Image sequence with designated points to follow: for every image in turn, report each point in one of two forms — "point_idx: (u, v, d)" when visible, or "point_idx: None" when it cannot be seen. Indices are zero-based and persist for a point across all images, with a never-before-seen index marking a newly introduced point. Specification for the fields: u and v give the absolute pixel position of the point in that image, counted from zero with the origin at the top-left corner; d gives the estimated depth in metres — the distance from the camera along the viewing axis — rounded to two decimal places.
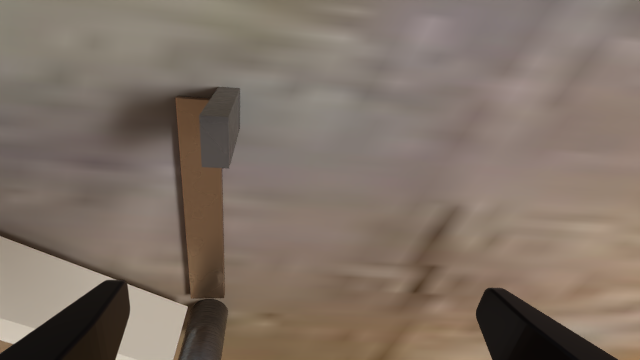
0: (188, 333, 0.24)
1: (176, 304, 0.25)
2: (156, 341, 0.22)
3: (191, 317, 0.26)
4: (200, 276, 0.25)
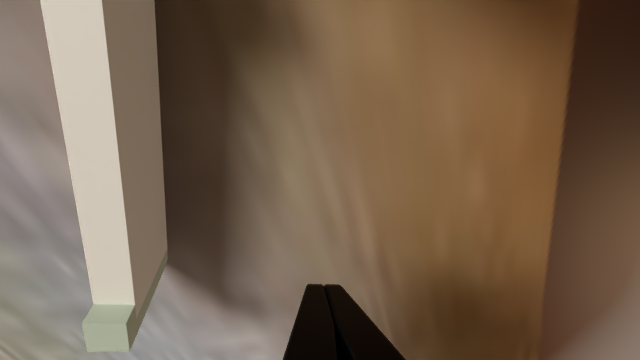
0: None
1: None
2: None
3: None
4: None
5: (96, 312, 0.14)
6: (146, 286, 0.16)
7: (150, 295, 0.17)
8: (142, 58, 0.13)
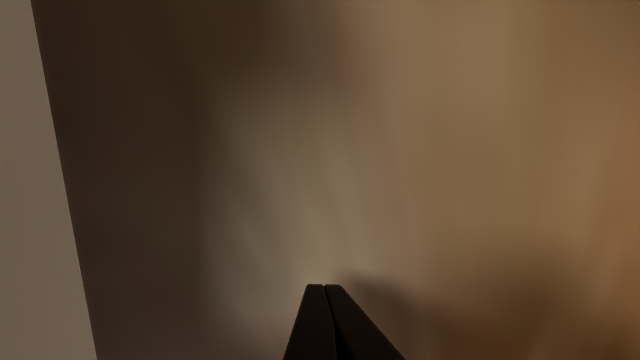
0: None
1: None
2: None
3: None
4: None
5: None
6: None
7: None
8: None
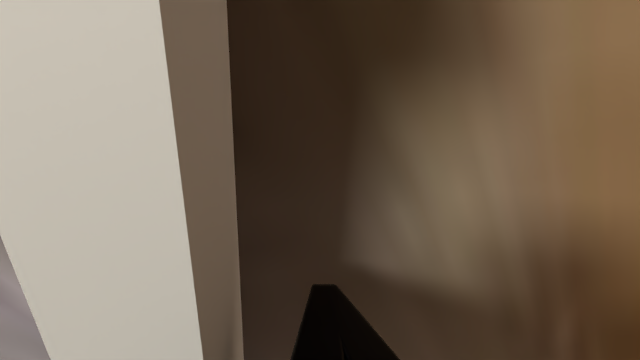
0: None
1: None
2: None
3: None
4: None
5: None
6: None
7: None
8: (223, 147, 0.06)
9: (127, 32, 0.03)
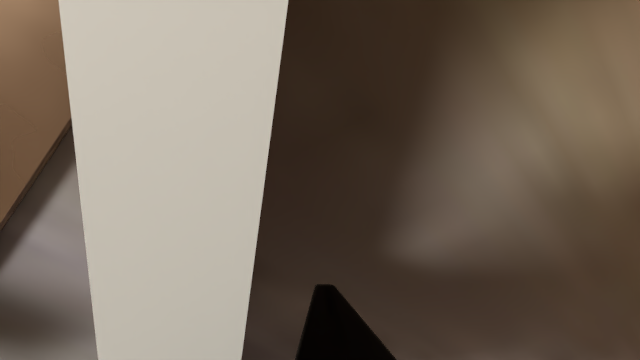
0: None
1: None
2: None
3: None
4: None
5: None
6: None
7: None
8: None
9: (251, 36, 0.03)
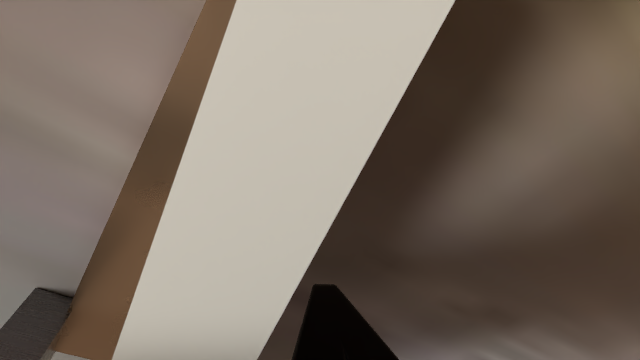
0: None
1: None
2: None
3: None
4: None
5: None
6: None
7: None
8: None
9: (399, 47, 0.03)
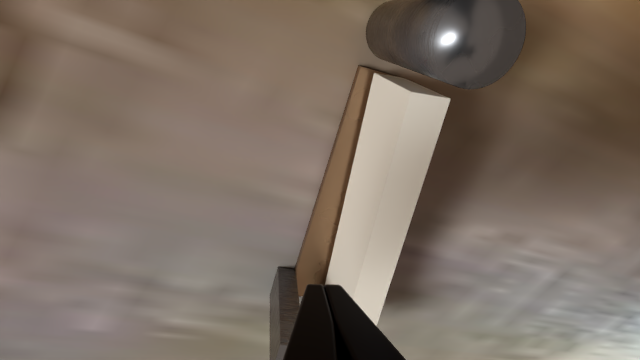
0: None
1: (370, 91, 0.17)
2: (389, 117, 0.14)
3: None
4: None
5: None
6: None
7: None
8: None
9: (420, 171, 0.14)
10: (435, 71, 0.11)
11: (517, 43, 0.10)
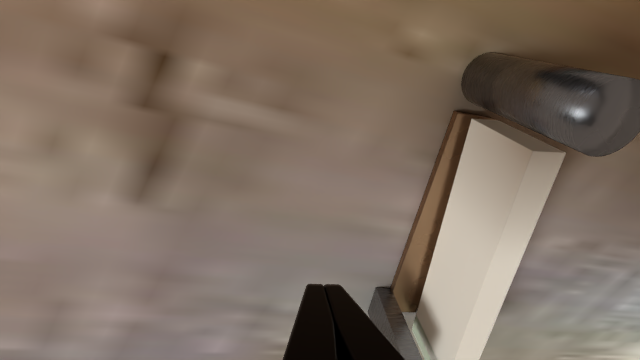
0: None
1: (468, 134, 0.19)
2: (502, 166, 0.16)
3: None
4: None
5: None
6: None
7: None
8: None
9: (536, 212, 0.16)
10: (569, 143, 0.13)
11: None
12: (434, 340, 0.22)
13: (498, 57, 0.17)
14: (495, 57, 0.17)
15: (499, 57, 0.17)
